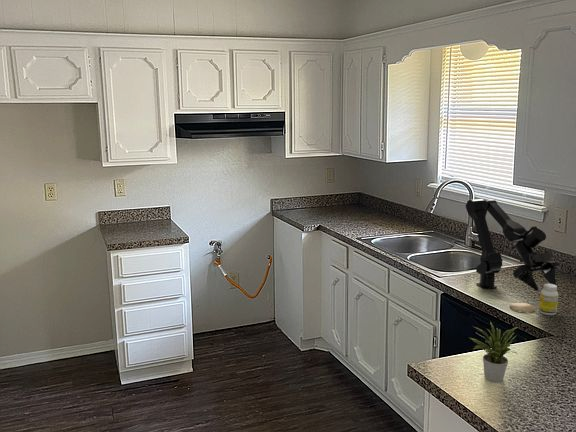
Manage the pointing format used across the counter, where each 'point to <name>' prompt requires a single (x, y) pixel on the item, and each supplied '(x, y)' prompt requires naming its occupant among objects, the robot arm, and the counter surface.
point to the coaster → (522, 307)
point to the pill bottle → (548, 300)
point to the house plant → (495, 354)
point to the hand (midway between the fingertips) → (546, 288)
